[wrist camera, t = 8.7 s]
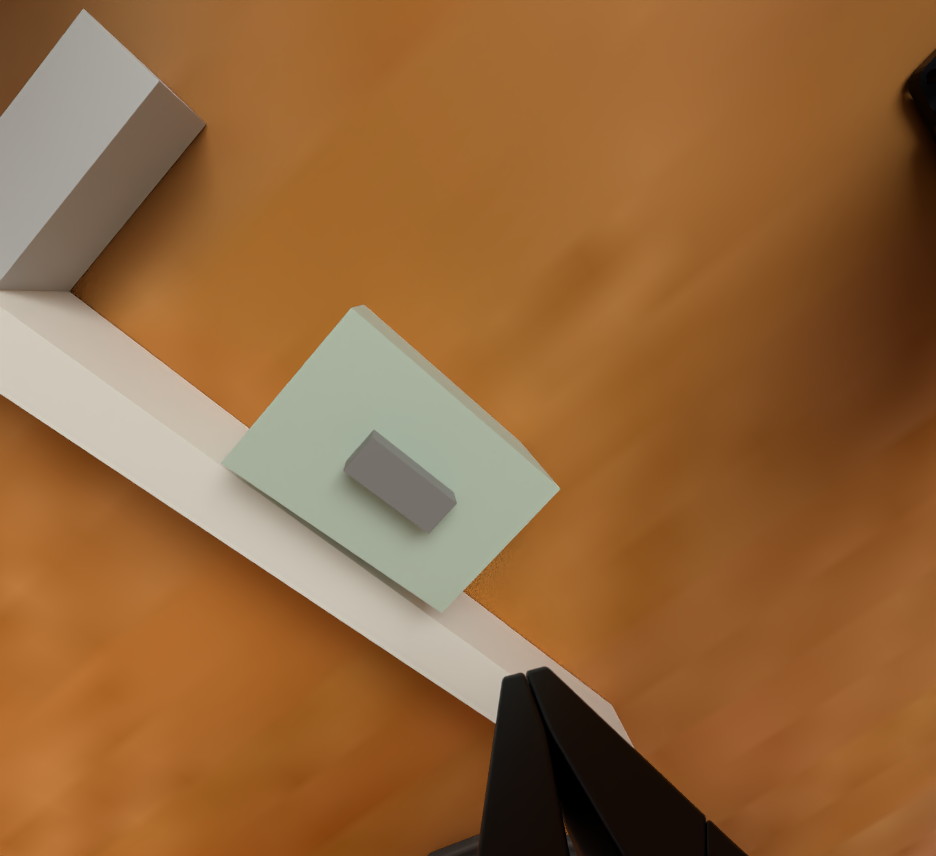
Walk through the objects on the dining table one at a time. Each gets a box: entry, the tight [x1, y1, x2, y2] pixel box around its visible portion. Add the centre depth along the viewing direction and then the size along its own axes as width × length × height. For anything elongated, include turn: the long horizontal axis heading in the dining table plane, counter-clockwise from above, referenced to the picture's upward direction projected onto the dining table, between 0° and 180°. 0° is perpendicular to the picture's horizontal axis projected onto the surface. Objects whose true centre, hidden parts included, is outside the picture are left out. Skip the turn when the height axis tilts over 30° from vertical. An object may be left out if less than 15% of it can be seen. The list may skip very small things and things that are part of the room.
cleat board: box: [0, 9, 635, 749], centre depth 17 cm, size 9×31×4 cm, turn 46°
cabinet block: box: [221, 305, 560, 613], centre depth 15 cm, size 6×8×6 cm
